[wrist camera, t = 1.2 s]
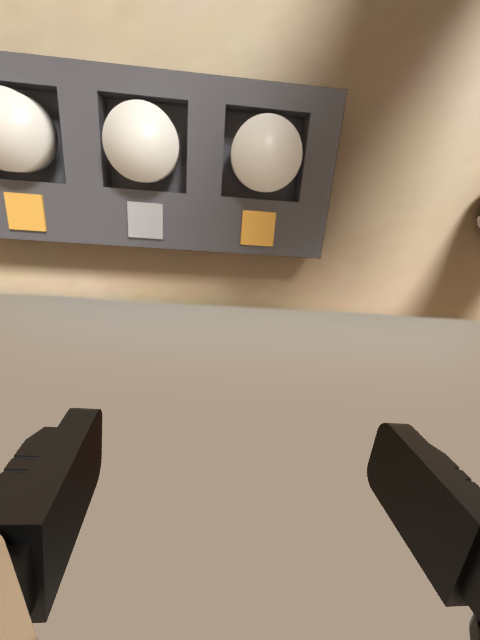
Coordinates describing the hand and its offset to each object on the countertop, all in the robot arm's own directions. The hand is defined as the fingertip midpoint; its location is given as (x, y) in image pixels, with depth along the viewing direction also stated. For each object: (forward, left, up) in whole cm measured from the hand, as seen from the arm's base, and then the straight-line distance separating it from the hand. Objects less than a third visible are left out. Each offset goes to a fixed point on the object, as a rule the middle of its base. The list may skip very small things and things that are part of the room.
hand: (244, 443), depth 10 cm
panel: (-9, -2, -21) cm, 23 cm away
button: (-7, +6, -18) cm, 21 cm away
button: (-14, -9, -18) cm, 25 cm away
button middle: (-11, -1, -18) cm, 21 cm away
